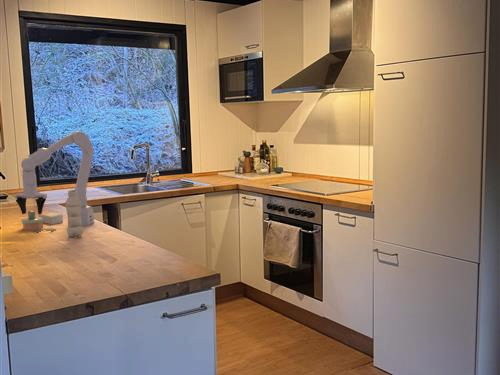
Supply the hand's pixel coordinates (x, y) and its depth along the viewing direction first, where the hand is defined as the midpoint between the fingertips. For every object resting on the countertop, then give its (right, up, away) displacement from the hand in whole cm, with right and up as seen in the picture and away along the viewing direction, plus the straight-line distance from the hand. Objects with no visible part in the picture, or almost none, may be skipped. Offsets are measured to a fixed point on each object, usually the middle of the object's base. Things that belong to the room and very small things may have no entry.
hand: (32, 213), depth 240 cm
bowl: (0, -7, +1) cm, 7 cm away
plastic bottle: (+25, -9, -16) cm, 31 cm away
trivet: (+8, -8, -6) cm, 13 cm away
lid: (0, -4, 0) cm, 4 cm away
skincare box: (-2, -2, +18) cm, 18 cm away
